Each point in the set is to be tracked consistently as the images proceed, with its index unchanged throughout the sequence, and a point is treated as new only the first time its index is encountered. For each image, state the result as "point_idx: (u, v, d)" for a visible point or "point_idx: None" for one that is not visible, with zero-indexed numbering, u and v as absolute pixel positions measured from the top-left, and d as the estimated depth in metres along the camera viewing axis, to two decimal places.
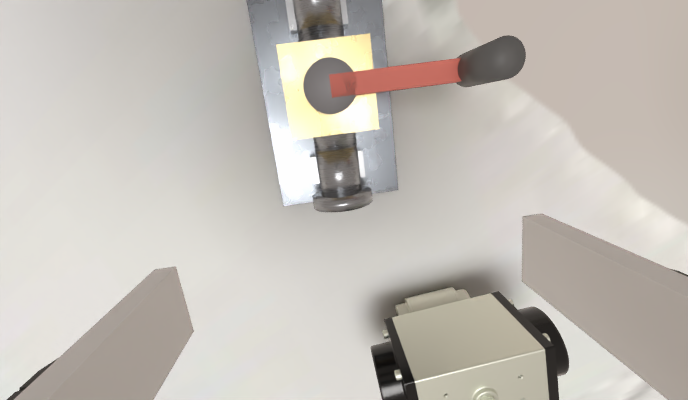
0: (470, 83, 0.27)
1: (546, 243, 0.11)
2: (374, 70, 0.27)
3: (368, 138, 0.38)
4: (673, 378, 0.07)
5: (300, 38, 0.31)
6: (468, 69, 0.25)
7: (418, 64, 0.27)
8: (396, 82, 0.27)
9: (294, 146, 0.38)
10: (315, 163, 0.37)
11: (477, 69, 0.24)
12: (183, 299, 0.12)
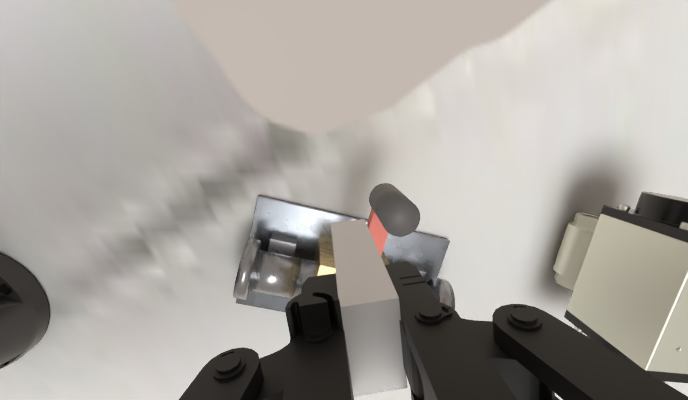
0: None
1: None
2: None
3: (392, 251, 0.41)
4: None
5: None
6: None
7: None
8: None
9: None
10: None
11: None
12: None
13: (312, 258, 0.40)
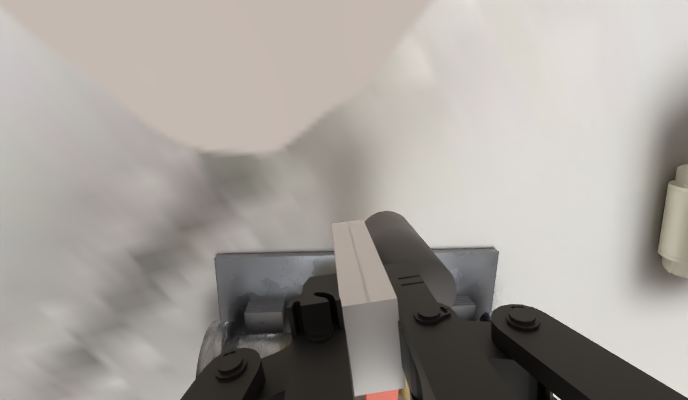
0: None
1: None
2: None
3: None
4: None
5: None
6: None
7: None
8: None
9: None
10: None
11: None
12: None
13: None
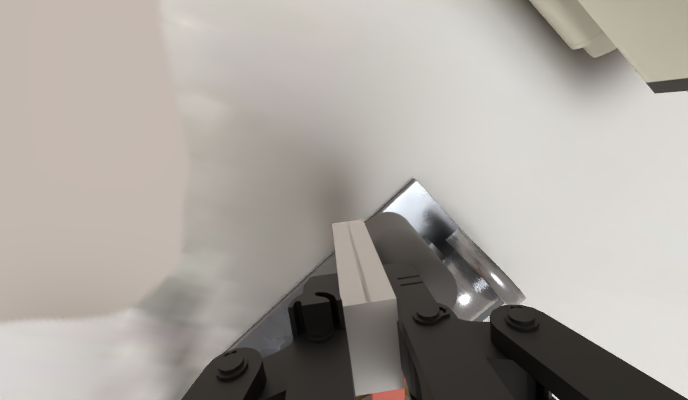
0: None
1: None
2: None
3: None
4: None
5: None
6: None
7: None
8: None
9: None
10: None
11: None
12: None
13: None
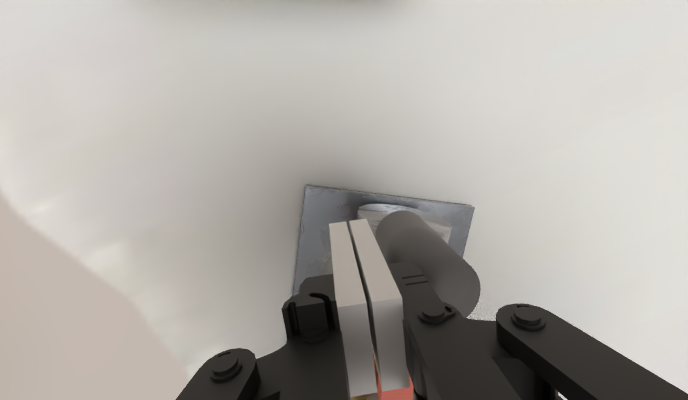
0: None
1: (353, 244, 0.13)
2: None
3: (332, 268, 0.28)
4: (375, 349, 0.09)
5: None
6: None
7: None
8: None
9: None
10: None
11: None
12: None
13: None
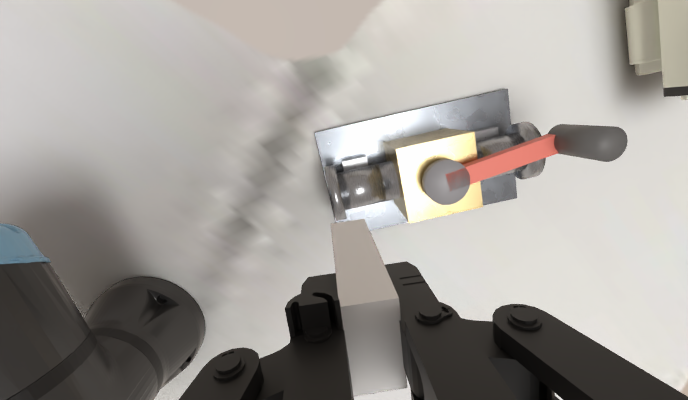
0: None
1: None
2: (482, 162, 0.31)
3: (456, 125, 0.41)
4: None
5: (391, 199, 0.38)
6: (570, 149, 0.29)
7: (519, 148, 0.31)
8: (502, 167, 0.32)
9: None
10: None
11: (581, 152, 0.28)
12: None
13: None
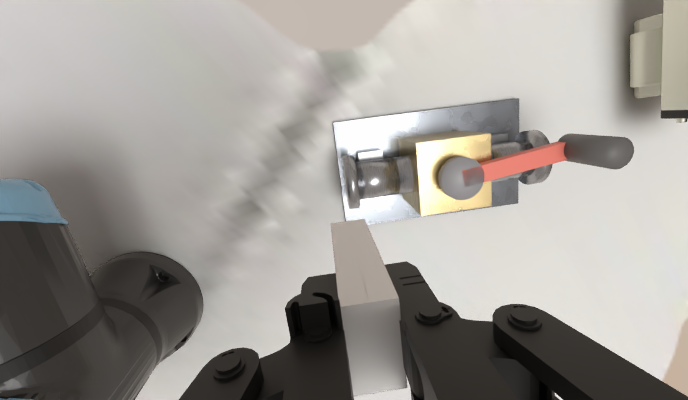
0: (577, 162, 0.33)
1: None
2: (497, 162, 0.33)
3: (469, 128, 0.43)
4: None
5: (403, 192, 0.39)
6: (579, 156, 0.31)
7: (532, 152, 0.33)
8: (515, 169, 0.33)
9: None
10: None
11: (590, 159, 0.30)
12: None
13: None
